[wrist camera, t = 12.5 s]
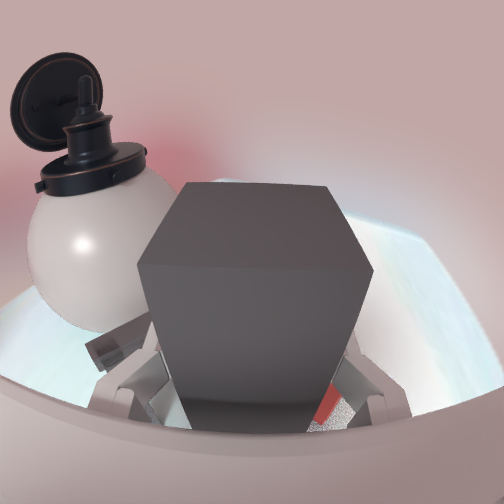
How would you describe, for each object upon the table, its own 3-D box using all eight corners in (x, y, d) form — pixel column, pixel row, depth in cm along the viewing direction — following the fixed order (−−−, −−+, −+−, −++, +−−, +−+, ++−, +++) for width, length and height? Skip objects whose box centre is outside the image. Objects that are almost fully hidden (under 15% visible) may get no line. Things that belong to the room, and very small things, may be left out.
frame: (258, 345, 30) (266, 250, 24) (268, 353, 30) (280, 258, 23) (138, 425, 21) (84, 344, 14) (147, 436, 20) (92, 360, 13)
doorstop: (203, 453, 12) (136, 264, 5) (211, 384, 15) (186, 182, 9) (292, 456, 12) (374, 270, 5) (288, 387, 15) (326, 186, 9)
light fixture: (101, 399, 23) (-9, 6, 5) (39, 292, 35) (-12, 72, 16) (231, 304, 36) (235, 6, 18) (135, 241, 48) (118, 46, 29)
